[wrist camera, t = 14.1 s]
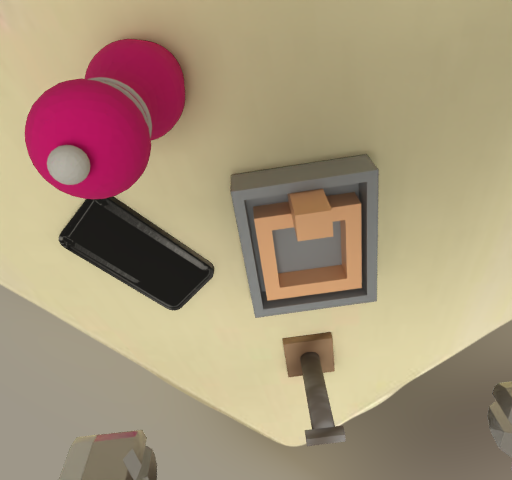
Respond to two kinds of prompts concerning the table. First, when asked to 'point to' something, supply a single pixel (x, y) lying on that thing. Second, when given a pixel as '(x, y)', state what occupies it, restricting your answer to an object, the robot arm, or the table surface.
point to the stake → (314, 383)
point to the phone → (136, 252)
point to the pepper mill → (106, 119)
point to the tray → (309, 251)
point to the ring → (307, 228)
